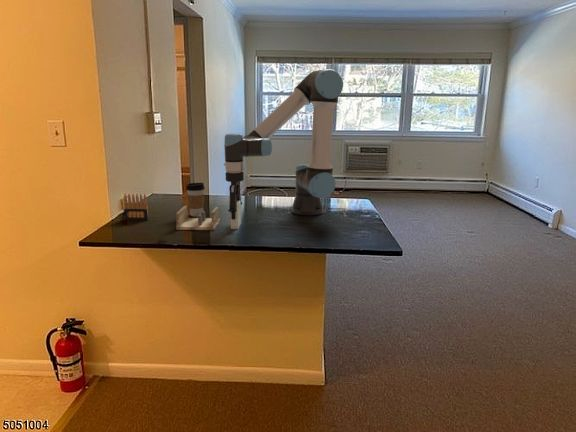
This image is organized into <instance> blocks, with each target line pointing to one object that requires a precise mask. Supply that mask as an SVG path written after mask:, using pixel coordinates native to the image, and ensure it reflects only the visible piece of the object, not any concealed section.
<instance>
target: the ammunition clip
mask: <svg viewBox="0 0 576 432" xmlns="http://www.w3.org/2000/svg"><path fill="white" fill-rule="evenodd" d="M147 200H148V199H147V195H146V193H144V194H143V195H142V193H140V194H139V195H138V193H136V195H135V194H134V193H132V195H131V193H128V196H127V194H126V193H124V195H123V207H124V209H123V212H124V213H123V214H124V221H149V220H150V213H149V207H148V205H149V204H148V201H147Z"/></svg>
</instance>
